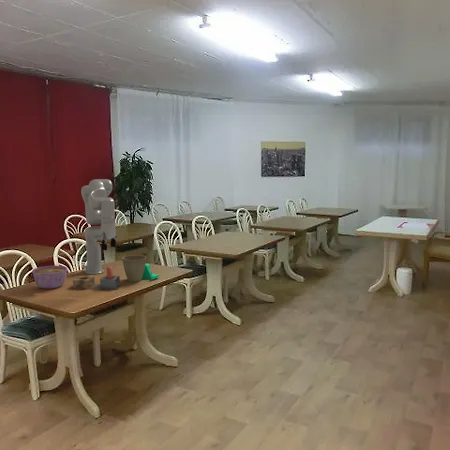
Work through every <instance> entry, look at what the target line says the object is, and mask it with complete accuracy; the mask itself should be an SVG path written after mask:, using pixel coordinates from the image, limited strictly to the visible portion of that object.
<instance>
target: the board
mask: <svg viewBox="0 0 450 450" xmlns="http://www.w3.org/2000/svg"><path fill="white" fill-rule="evenodd" d="M122 286H123V284H120V285H119V286H118V287H117V288H116V289H100V283H95V285H94V286H92V287H91V288H90V289H88V290H93V291H94V290H96V291H99V290H100V291H118V290H119V289H120V288H121V287H122ZM70 290H83V289H82V288H73V287H71V288H70Z"/></svg>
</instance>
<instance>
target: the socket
mask: <svg viewBox="0 0 450 450" xmlns="http://www.w3.org/2000/svg"><path fill="white" fill-rule="evenodd" d="M99 284H100V289H116V288H117V287H118V286H119V285H121V284H120V275H113V279H108V278H107V274H106V275H103V276H102V277H101V278H100V279H99Z"/></svg>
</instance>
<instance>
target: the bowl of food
mask: <svg viewBox="0 0 450 450" xmlns="http://www.w3.org/2000/svg"><path fill="white" fill-rule="evenodd" d="M31 273H32V275H33V280H34V281H35V284H36V285H37V287H39V288H41V289H44V290H51V289H57V288H60V287H61V286H63V285H64V283H65V280H66V277H67V273H68V267H67V266H63V265H46V266H45V265H44V266H38V267H36V268H33V269H31Z"/></svg>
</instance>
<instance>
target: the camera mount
mask: <svg viewBox="0 0 450 450" xmlns="http://www.w3.org/2000/svg"><path fill="white" fill-rule="evenodd" d="M158 278H159V274H157V273H156V274H155V273H152V272H151V265H150V264H149V263H145V269H144V273H143V276H142V279H141V280H150V281H151V280H156V279H158Z"/></svg>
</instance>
